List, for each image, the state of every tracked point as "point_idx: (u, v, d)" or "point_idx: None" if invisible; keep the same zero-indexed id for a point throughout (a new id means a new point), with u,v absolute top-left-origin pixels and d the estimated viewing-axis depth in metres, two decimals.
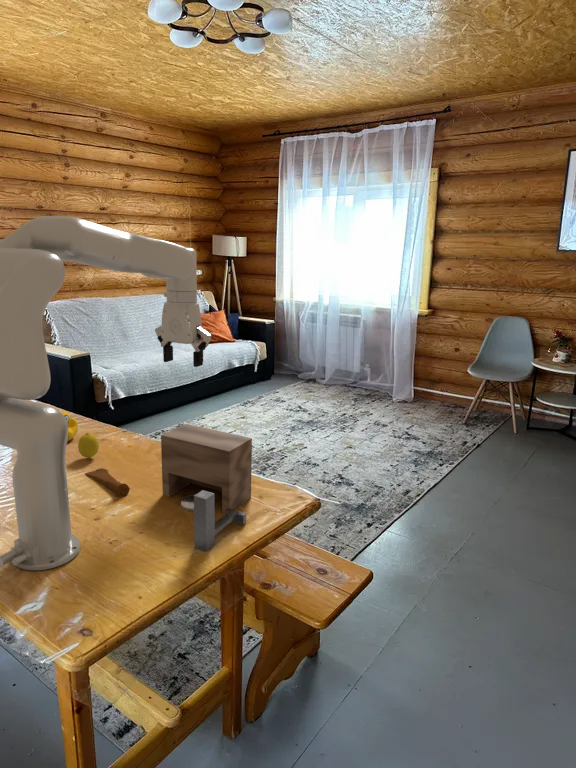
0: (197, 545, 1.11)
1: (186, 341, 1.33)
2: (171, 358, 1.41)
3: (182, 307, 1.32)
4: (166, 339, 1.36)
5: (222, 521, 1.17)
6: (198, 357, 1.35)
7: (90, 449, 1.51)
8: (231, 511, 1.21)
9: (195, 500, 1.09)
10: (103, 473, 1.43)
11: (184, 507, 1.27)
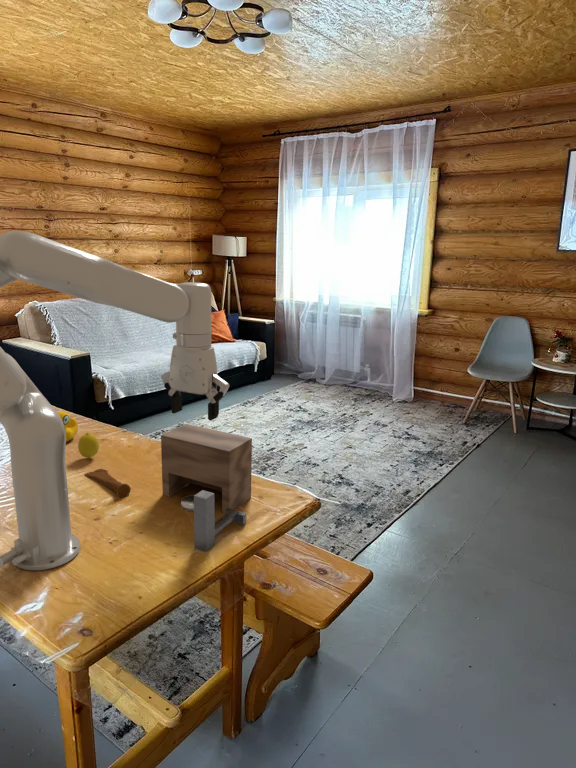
0: (197, 545, 1.11)
1: (200, 391, 1.14)
2: (180, 408, 1.22)
3: (195, 353, 1.13)
4: (175, 388, 1.17)
5: (222, 521, 1.17)
6: (213, 409, 1.16)
7: (90, 449, 1.51)
8: (231, 511, 1.21)
9: (195, 500, 1.09)
10: (103, 473, 1.43)
11: (184, 507, 1.27)
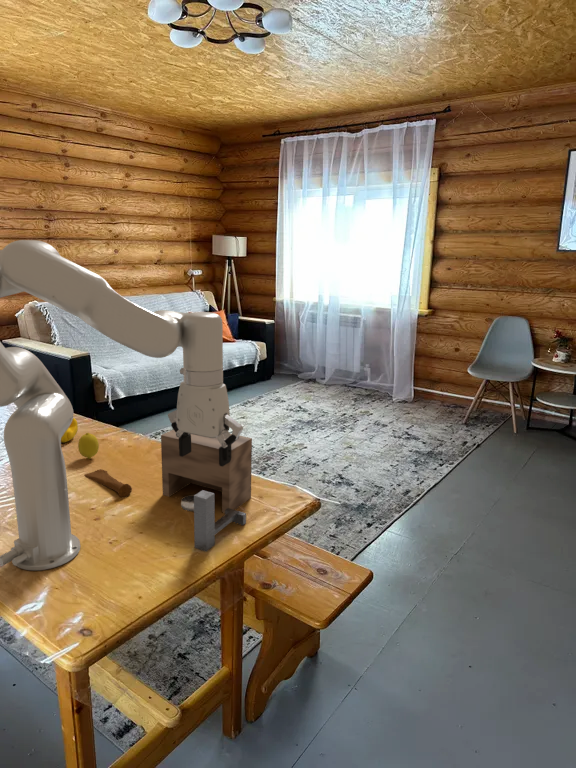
0: (197, 545, 1.11)
1: (210, 435, 1.02)
2: (189, 450, 1.10)
3: (205, 392, 1.00)
4: (183, 430, 1.04)
5: (222, 521, 1.17)
6: (225, 454, 1.03)
7: (90, 449, 1.51)
8: (231, 511, 1.21)
9: (195, 500, 1.09)
10: (103, 474, 1.43)
11: (184, 507, 1.27)
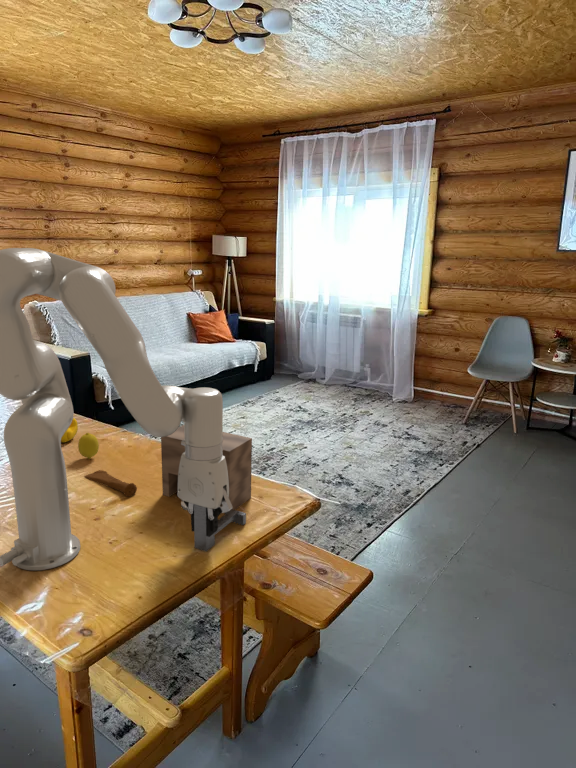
0: (197, 545, 1.11)
1: (210, 506, 1.05)
2: None
3: (205, 465, 1.04)
4: (184, 499, 1.08)
5: (222, 521, 1.17)
6: (212, 525, 1.09)
7: (90, 449, 1.51)
8: (231, 511, 1.21)
9: None
10: (104, 475, 1.42)
11: (184, 507, 1.27)
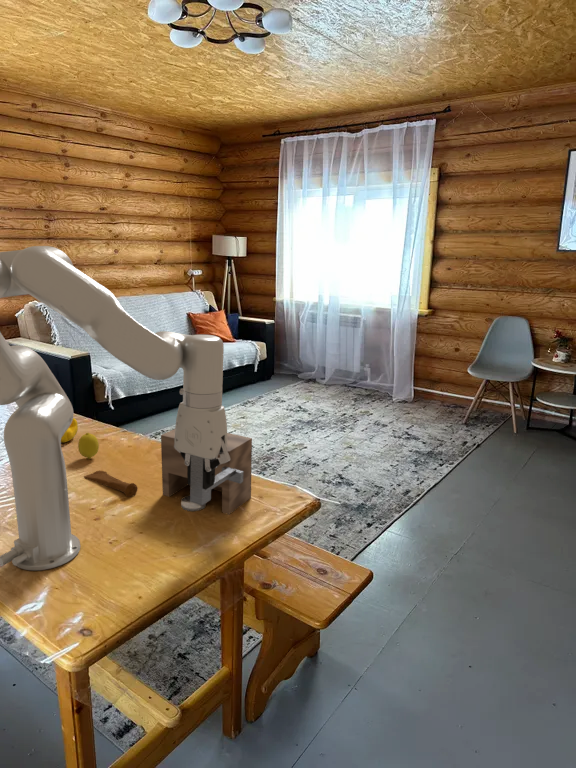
0: (193, 499, 1.08)
1: (207, 456, 1.03)
2: None
3: (203, 414, 1.01)
4: (180, 450, 1.05)
5: (219, 477, 1.14)
6: (209, 478, 1.06)
7: (90, 449, 1.51)
8: (228, 469, 1.19)
9: None
10: (104, 475, 1.42)
11: (184, 507, 1.27)
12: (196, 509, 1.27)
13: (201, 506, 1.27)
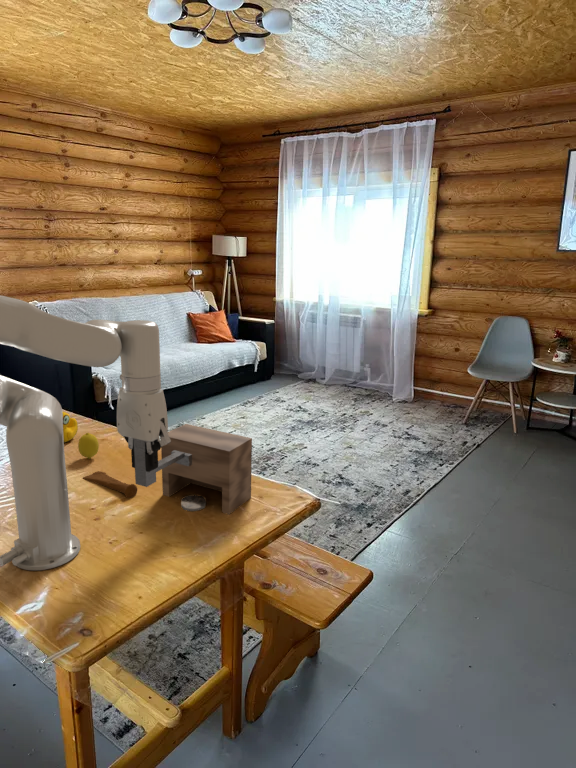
0: (138, 481, 1.11)
1: (147, 439, 1.05)
2: None
3: (141, 397, 1.04)
4: (123, 434, 1.08)
5: (166, 460, 1.17)
6: (151, 460, 1.09)
7: (90, 449, 1.51)
8: (177, 452, 1.21)
9: None
10: (103, 476, 1.42)
11: (184, 507, 1.27)
12: (196, 509, 1.27)
13: (201, 506, 1.27)
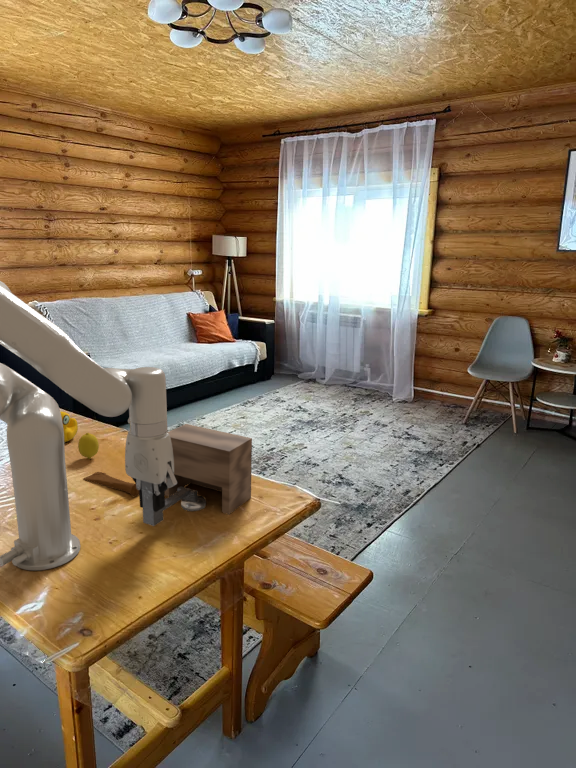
0: (146, 520, 1.15)
1: (154, 481, 1.09)
2: None
3: (148, 442, 1.08)
4: (131, 475, 1.12)
5: (172, 498, 1.21)
6: (158, 500, 1.13)
7: (90, 449, 1.51)
8: (183, 489, 1.25)
9: None
10: (104, 476, 1.41)
11: (184, 507, 1.27)
12: (196, 509, 1.27)
13: (201, 506, 1.27)
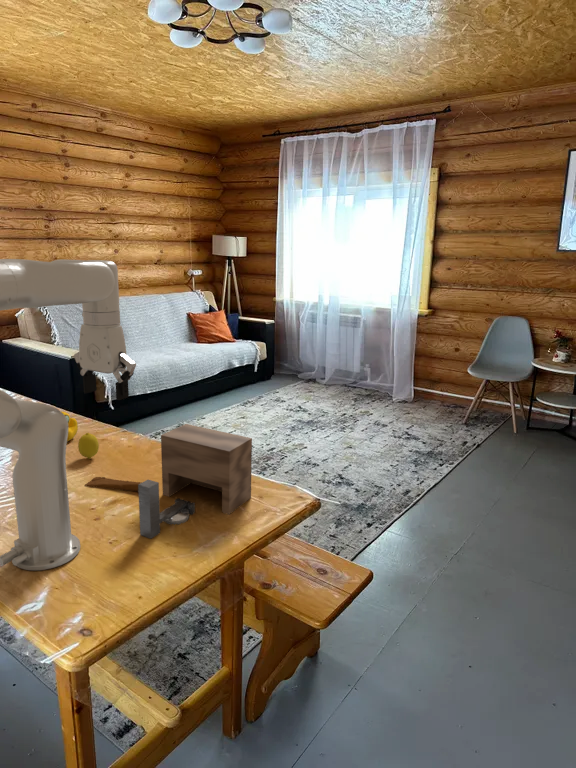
0: (143, 532, 1.15)
1: (106, 370, 1.13)
2: (94, 388, 1.21)
3: (100, 331, 1.12)
4: (84, 367, 1.16)
5: (169, 510, 1.21)
6: (121, 389, 1.15)
7: (90, 449, 1.51)
8: (180, 501, 1.25)
9: (139, 489, 1.13)
10: (107, 480, 1.39)
11: (171, 520, 1.20)
12: (184, 520, 1.21)
13: (188, 516, 1.22)
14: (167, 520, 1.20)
